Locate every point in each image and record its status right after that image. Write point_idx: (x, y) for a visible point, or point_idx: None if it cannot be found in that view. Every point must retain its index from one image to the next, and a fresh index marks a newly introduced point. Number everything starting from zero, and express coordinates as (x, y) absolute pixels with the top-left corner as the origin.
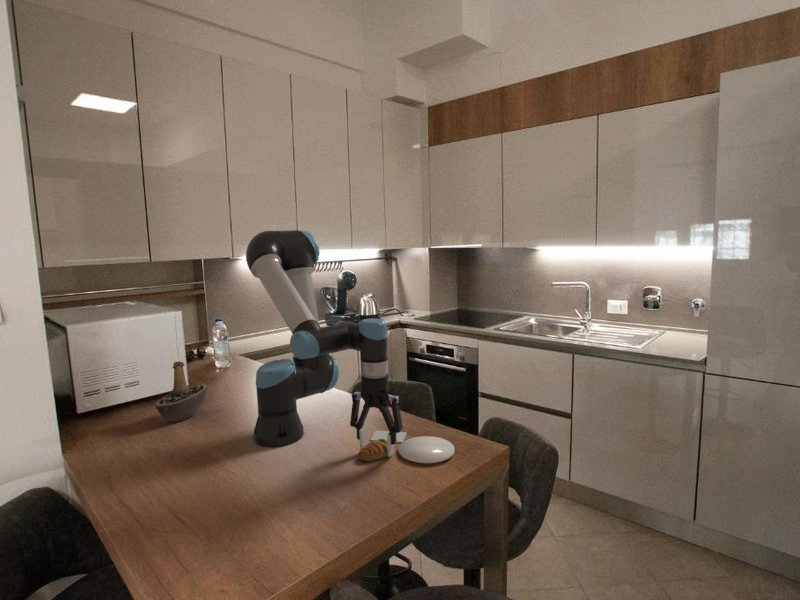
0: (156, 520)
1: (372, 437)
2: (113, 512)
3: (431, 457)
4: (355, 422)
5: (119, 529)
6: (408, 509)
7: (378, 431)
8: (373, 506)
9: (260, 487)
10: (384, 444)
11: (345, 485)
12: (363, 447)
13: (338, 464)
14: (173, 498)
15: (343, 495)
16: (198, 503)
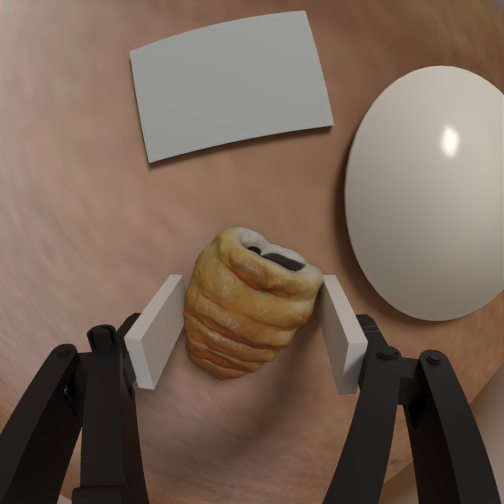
0: (71, 491)
1: (146, 131)
2: None
3: (487, 278)
4: (82, 387)
5: (63, 494)
6: (409, 461)
7: (148, 54)
8: None
9: None
10: (295, 315)
11: (244, 456)
12: (181, 315)
13: None
14: None
15: (261, 476)
16: (68, 477)
